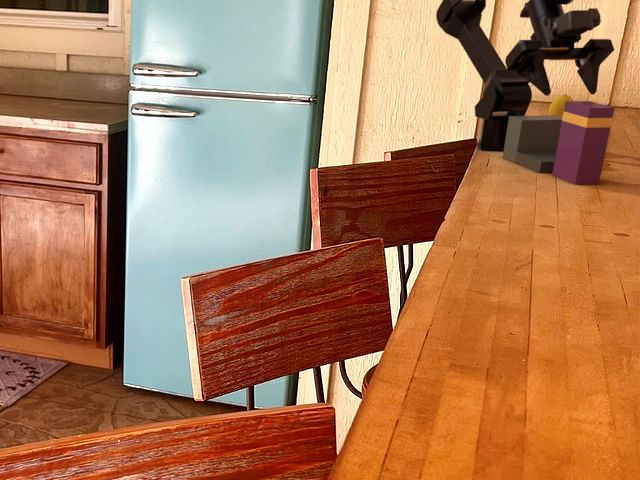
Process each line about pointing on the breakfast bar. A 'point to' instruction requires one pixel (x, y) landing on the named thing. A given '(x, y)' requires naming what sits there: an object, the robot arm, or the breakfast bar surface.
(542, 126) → the grey l-shaped stand
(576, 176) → the chocolate box
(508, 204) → the breakfast bar surface
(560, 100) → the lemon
